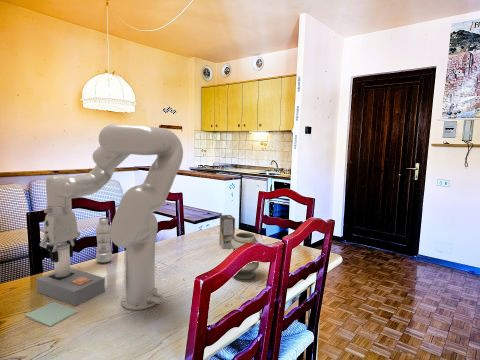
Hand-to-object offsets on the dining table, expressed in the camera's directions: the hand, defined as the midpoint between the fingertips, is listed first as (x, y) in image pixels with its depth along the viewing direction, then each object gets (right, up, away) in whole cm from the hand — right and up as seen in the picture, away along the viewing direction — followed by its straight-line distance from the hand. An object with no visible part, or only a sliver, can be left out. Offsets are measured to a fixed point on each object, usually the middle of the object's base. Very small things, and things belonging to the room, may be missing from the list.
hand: (62, 258), depth 112 cm
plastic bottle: (+3, -9, +27) cm, 29 cm away
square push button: (+9, -12, -3) cm, 15 cm away
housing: (+4, -12, -1) cm, 12 cm away
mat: (+6, -14, -15) cm, 21 cm away
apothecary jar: (+66, -12, +18) cm, 70 cm away
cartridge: (0, -6, +1) cm, 6 cm away
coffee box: (+57, -7, +55) cm, 80 cm away
